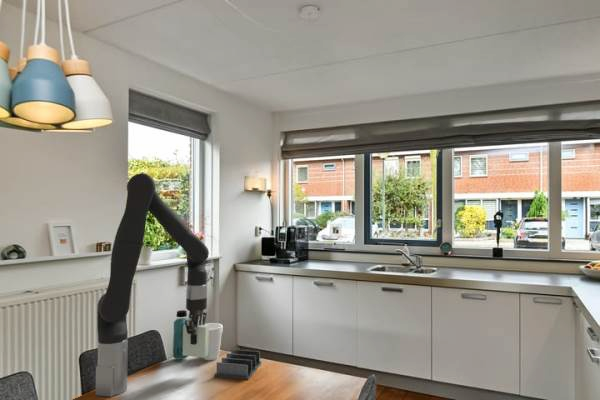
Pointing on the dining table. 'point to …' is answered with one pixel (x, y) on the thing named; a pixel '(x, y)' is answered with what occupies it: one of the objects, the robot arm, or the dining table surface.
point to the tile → (202, 342)
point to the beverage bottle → (179, 335)
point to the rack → (238, 364)
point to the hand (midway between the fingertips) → (195, 342)
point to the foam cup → (214, 340)
